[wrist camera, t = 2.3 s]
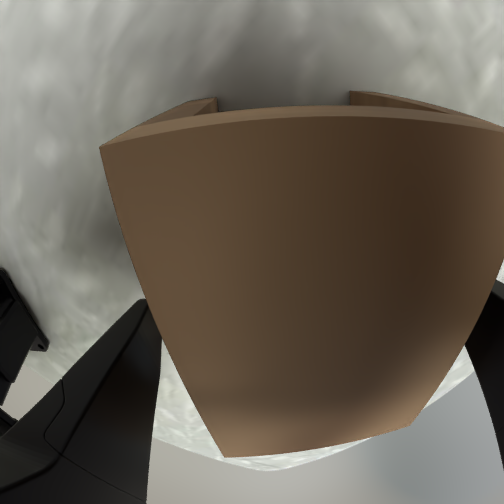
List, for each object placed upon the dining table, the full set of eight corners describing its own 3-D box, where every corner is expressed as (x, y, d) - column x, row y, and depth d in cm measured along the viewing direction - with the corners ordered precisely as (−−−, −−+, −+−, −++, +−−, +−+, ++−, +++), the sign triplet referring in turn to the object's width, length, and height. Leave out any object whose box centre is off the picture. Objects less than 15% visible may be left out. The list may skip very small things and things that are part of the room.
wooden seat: (225, 315, 15) (224, 457, 9) (188, 101, 9) (98, 147, 3) (357, 299, 15) (409, 425, 8) (373, 92, 9) (531, 139, 3)
